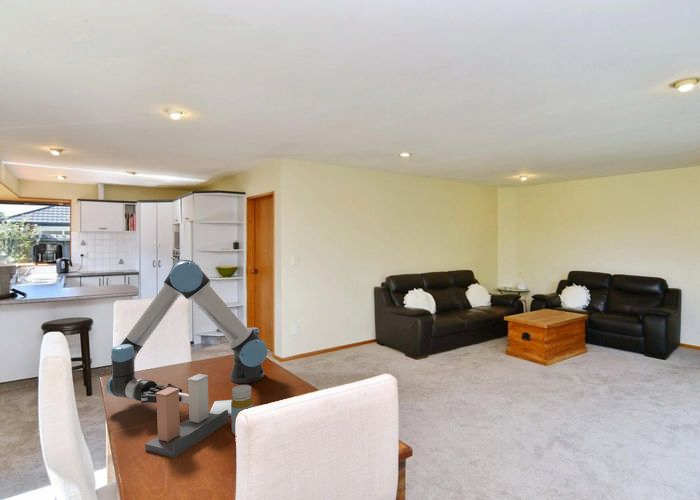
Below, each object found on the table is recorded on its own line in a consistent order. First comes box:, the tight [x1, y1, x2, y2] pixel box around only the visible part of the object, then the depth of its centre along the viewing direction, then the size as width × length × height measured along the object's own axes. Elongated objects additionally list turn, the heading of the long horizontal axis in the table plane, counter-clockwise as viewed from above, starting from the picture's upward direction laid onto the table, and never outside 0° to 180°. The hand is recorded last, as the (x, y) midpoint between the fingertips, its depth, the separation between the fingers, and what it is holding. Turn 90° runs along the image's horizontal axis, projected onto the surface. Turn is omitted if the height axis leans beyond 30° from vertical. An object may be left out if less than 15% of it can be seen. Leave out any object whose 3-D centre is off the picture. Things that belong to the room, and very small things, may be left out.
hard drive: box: [209, 399, 232, 417], centre depth 149 cm, size 2×8×12 cm
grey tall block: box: [186, 373, 210, 423], centre depth 136 cm, size 5×4×15 cm
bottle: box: [230, 384, 254, 437], centre depth 131 cm, size 7×7×15 cm
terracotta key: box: [155, 387, 181, 442], centre depth 124 cm, size 5×4×15 cm
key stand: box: [144, 410, 229, 459], centre depth 130 cm, size 24×12×4 cm, turn 158°
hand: (190, 399), depth 138 cm, fingers closed
